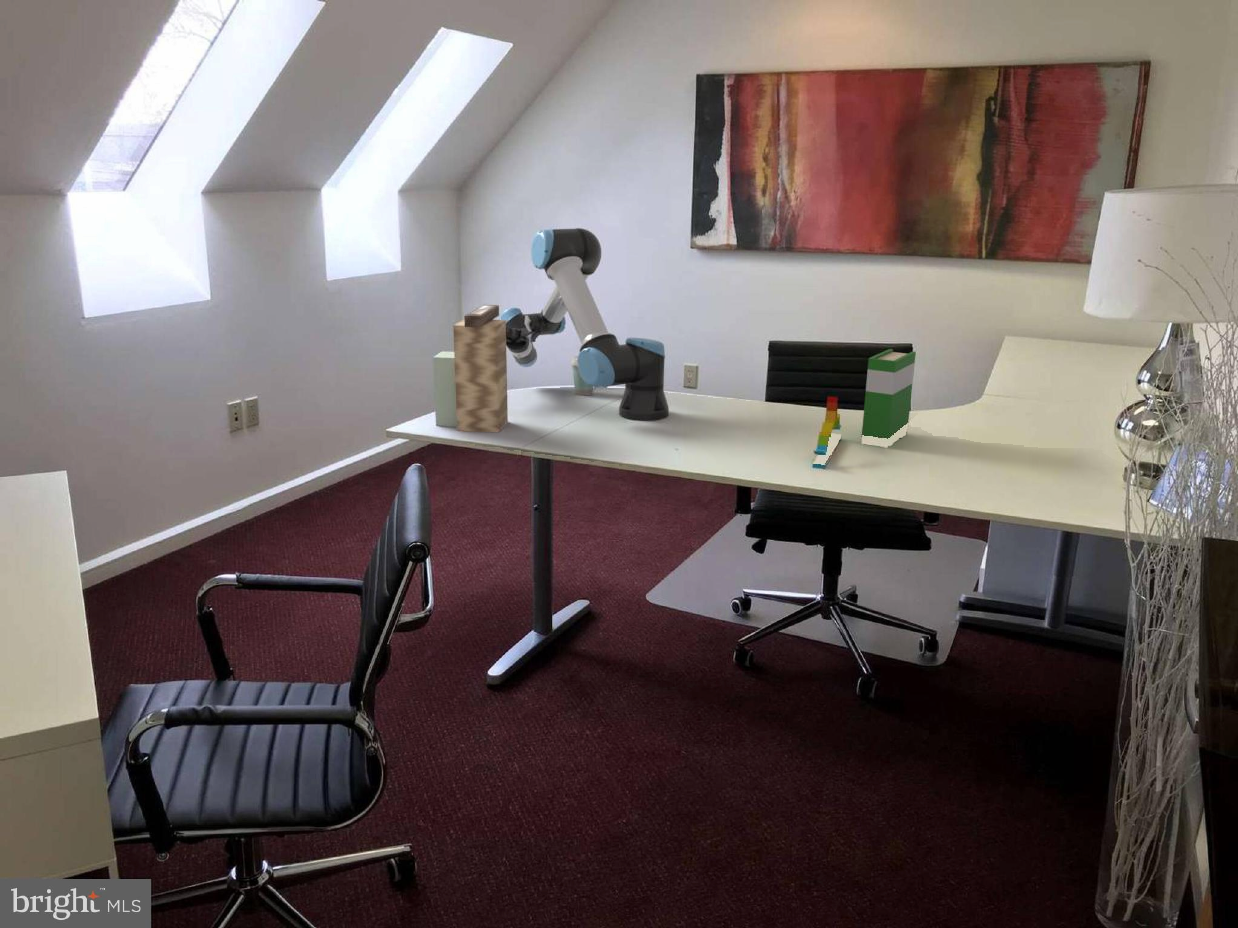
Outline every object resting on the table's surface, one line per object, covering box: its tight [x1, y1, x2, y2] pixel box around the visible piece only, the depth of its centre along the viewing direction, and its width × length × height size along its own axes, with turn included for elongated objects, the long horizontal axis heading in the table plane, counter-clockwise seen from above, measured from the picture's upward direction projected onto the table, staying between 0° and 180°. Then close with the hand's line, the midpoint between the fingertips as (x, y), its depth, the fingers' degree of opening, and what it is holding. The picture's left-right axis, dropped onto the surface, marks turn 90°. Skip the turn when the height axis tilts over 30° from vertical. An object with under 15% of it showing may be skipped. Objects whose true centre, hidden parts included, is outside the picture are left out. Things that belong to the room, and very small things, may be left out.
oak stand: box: [452, 319, 509, 433], centre depth 274 cm, size 12×12×30 cm
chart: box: [812, 396, 842, 470], centre depth 256 cm, size 30×3×15 cm, turn 160°
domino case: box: [463, 304, 500, 327], centre depth 272 cm, size 4×22×3 cm, turn 174°
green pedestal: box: [432, 351, 457, 427], centre depth 279 cm, size 7×9×20 cm
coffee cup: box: [571, 356, 594, 396], centre depth 318 cm, size 9×8×12 cm
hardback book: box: [861, 348, 917, 439], centre depth 268 cm, size 18×7×24 cm, turn 147°
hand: (504, 318), depth 292 cm, fingers open, 13 cm apart
